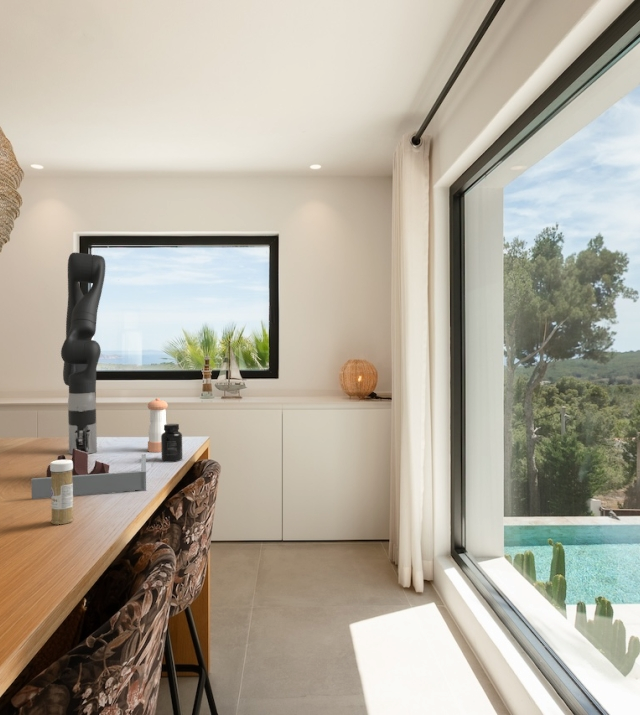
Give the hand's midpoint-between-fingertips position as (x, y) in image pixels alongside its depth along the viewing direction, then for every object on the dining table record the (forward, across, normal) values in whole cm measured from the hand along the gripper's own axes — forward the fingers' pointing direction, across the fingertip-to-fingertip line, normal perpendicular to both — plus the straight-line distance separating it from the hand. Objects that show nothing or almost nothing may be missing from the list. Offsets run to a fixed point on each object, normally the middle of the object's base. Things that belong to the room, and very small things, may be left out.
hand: (83, 466), depth 168 cm
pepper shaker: (+3, -35, +22) cm, 42 cm away
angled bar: (+3, +10, +4) cm, 11 cm away
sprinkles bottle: (+3, +45, 0) cm, 45 cm away
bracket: (+3, +8, 0) cm, 9 cm away
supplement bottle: (+3, -16, +26) cm, 31 cm away
